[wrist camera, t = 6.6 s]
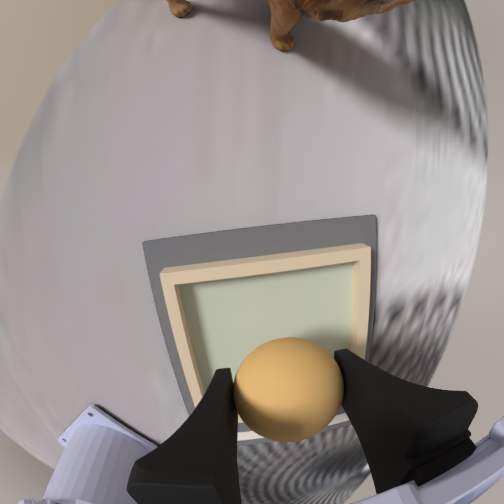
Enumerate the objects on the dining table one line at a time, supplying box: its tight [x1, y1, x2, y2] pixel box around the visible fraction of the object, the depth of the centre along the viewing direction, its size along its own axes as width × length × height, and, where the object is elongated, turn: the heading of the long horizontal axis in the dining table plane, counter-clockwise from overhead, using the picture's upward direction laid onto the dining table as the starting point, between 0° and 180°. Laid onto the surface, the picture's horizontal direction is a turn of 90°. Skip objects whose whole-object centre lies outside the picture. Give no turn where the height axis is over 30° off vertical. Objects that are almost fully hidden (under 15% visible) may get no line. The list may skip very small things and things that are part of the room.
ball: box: [233, 337, 344, 442], centre depth 11 cm, size 5×5×5 cm
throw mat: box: [142, 215, 377, 446], centre depth 15 cm, size 16×12×1 cm
